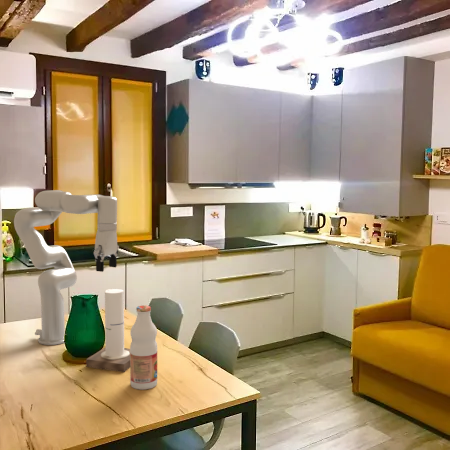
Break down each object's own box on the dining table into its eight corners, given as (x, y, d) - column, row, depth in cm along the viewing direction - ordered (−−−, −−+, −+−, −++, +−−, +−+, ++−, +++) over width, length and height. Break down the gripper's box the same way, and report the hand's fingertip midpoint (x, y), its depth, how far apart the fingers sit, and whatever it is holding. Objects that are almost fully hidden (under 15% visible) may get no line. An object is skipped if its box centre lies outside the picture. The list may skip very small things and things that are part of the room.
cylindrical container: (122, 357, 203) (121, 293, 200) (103, 356, 203) (102, 293, 200) (125, 350, 210) (125, 289, 207) (108, 350, 210) (107, 288, 208)
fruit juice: (126, 382, 187) (125, 305, 184) (150, 377, 192) (150, 302, 189) (137, 392, 179) (136, 312, 176) (162, 386, 185) (162, 308, 182)
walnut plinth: (86, 366, 202) (86, 358, 201) (107, 353, 217) (107, 345, 216) (124, 372, 197) (124, 363, 197) (143, 357, 212) (142, 349, 212)
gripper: (110, 224, 221) (109, 264, 223) (86, 228, 205) (86, 272, 207) (126, 225, 219) (125, 266, 221) (103, 230, 202) (102, 274, 204)
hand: (106, 269), depth 214 cm, fingers open, 9 cm apart
